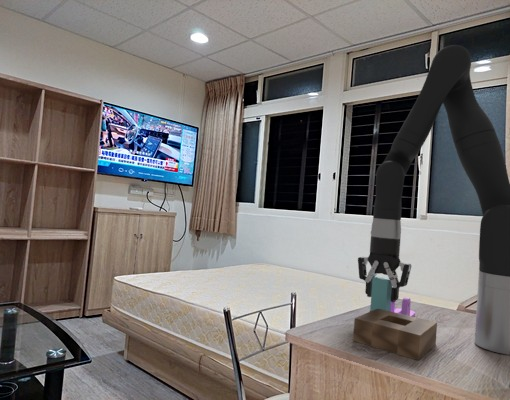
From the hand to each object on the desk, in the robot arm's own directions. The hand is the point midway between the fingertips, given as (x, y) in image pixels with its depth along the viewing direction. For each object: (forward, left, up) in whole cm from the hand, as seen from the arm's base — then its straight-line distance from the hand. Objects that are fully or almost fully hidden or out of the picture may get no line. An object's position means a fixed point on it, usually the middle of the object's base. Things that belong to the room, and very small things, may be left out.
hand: (381, 298), depth 99 cm
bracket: (-2, -12, -7) cm, 14 cm away
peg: (0, 0, -7) cm, 7 cm away
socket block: (-8, +12, -7) cm, 16 cm away
